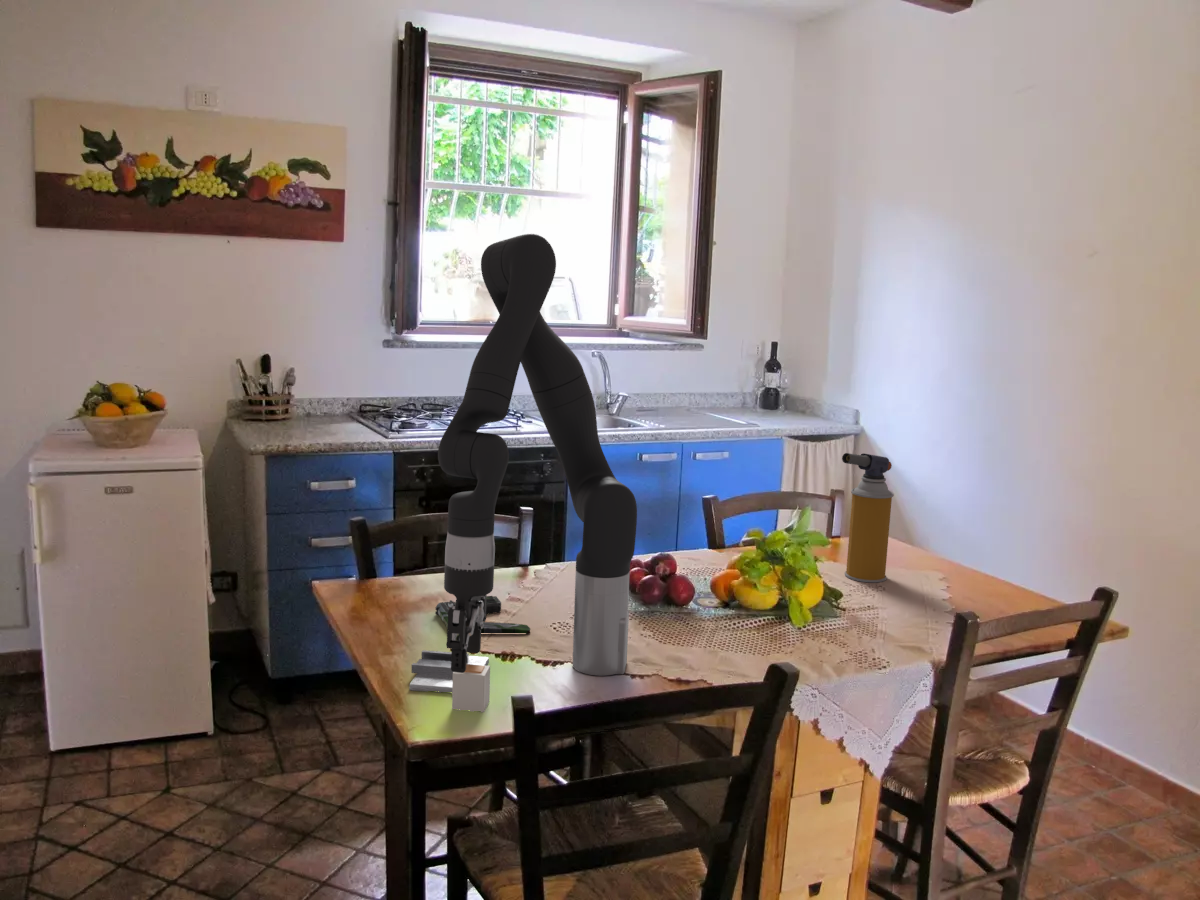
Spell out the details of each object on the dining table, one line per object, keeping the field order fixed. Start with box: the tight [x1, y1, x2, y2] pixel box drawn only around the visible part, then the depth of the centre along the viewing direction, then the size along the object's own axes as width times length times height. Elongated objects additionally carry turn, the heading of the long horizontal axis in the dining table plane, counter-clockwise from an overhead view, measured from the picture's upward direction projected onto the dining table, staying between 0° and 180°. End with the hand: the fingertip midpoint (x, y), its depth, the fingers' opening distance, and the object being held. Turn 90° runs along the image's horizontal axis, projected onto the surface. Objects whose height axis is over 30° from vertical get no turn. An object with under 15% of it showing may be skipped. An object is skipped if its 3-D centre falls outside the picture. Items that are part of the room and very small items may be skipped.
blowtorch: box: [841, 452, 895, 584], centre depth 235 cm, size 9×16×30 cm, turn 129°
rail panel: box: [409, 649, 490, 693], centre depth 173 cm, size 11×14×2 cm
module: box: [451, 664, 491, 713], centre depth 161 cm, size 5×4×6 cm
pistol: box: [434, 595, 531, 641], centre depth 198 cm, size 3×22×15 cm
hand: (466, 661), depth 161 cm, fingers open, 8 cm apart
